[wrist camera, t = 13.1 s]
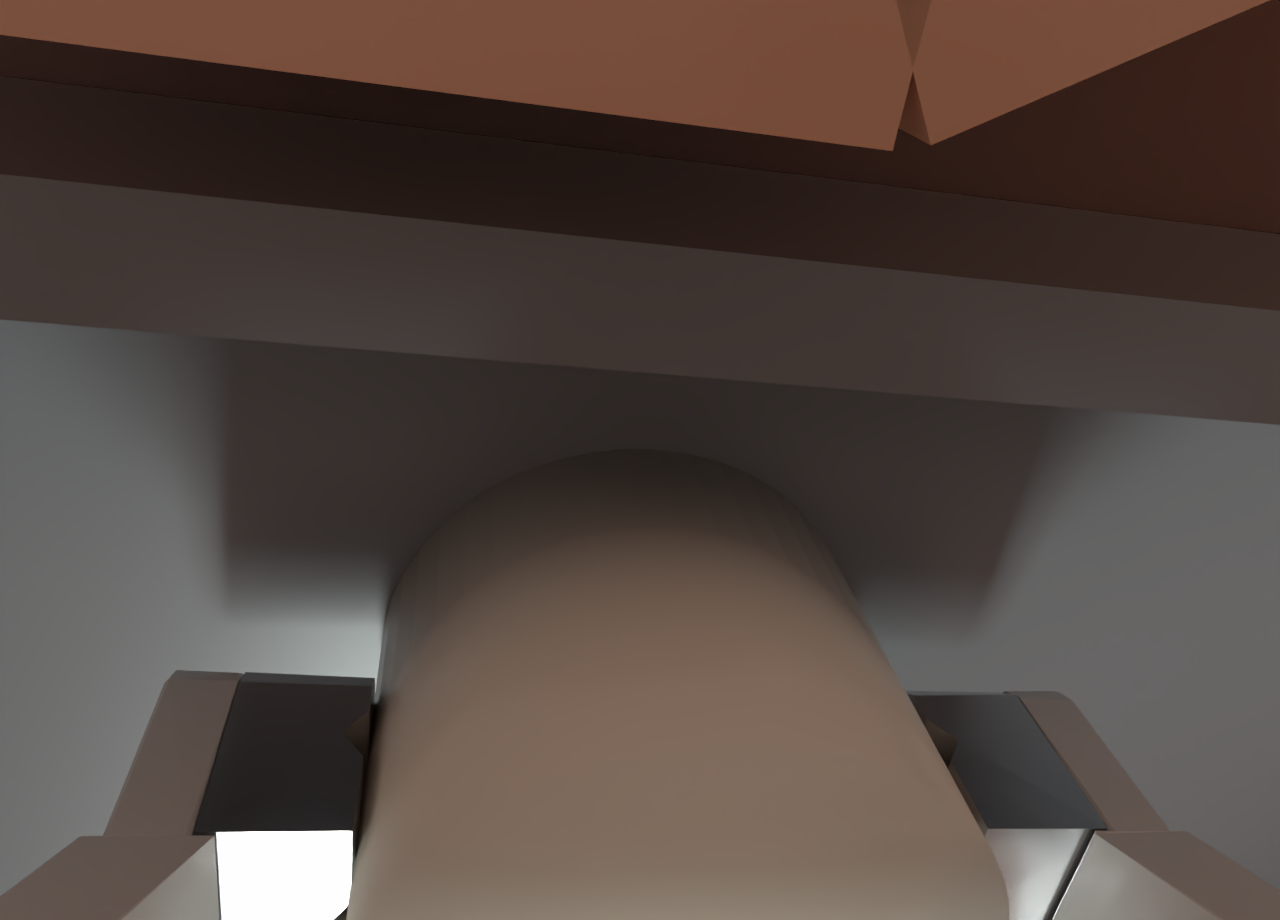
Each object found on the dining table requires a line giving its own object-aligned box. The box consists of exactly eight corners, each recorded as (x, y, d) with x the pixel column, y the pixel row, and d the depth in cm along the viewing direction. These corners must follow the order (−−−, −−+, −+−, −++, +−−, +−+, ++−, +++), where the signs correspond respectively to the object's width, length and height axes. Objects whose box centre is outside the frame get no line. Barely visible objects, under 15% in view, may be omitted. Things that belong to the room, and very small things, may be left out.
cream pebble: (897, 465, 9) (1108, 749, 6) (791, 821, 11) (908, 1166, 8) (390, 430, 8) (339, 738, 5) (374, 821, 10) (330, 1207, 7)
